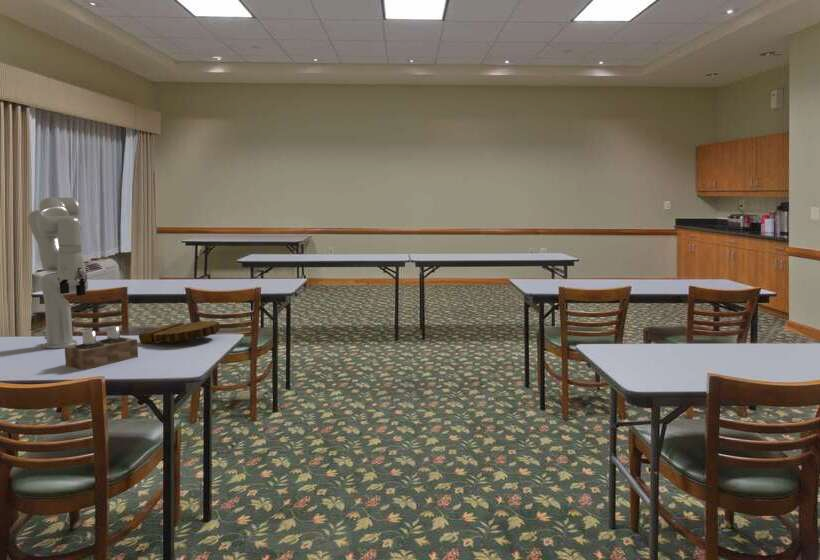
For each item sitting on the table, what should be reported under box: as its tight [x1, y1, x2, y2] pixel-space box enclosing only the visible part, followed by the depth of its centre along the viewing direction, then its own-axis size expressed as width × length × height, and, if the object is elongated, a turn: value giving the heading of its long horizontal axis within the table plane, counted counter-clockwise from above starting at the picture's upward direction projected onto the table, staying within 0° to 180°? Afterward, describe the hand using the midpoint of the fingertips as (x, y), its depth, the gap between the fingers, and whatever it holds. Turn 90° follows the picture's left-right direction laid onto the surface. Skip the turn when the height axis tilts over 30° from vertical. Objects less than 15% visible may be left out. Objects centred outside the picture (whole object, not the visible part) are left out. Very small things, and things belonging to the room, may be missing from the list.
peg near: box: [82, 330, 97, 347], centre depth 222 cm, size 4×4×8 cm
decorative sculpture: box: [138, 320, 221, 345], centre depth 265 cm, size 30×7×30 cm
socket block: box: [64, 336, 139, 371], centre depth 227 cm, size 12×22×8 cm, turn 153°
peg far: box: [106, 325, 121, 341], centre depth 230 cm, size 4×4×8 cm
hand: (72, 294), depth 224 cm, fingers open, 9 cm apart
